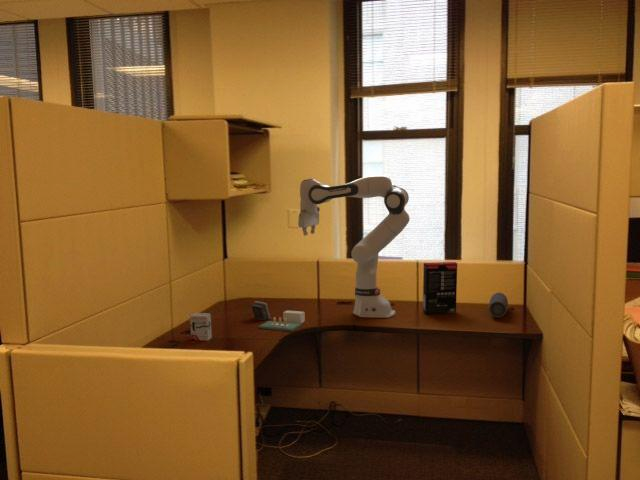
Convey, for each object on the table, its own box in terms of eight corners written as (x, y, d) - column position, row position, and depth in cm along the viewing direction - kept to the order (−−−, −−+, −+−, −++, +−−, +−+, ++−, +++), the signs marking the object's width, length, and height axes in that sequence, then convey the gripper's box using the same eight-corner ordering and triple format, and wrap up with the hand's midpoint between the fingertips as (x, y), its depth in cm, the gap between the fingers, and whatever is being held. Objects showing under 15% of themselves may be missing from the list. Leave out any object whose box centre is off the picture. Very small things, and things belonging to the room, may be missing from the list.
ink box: (190, 340, 265) (189, 315, 264) (194, 337, 270) (193, 312, 269) (208, 340, 264) (207, 315, 263) (212, 337, 269) (210, 313, 268)
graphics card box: (452, 310, 311) (453, 260, 308) (457, 313, 305) (457, 262, 302) (422, 312, 309) (422, 262, 306) (426, 315, 302) (426, 264, 299)
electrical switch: (271, 319, 301) (269, 302, 300) (263, 322, 298) (261, 305, 296) (259, 316, 308) (257, 299, 306) (251, 319, 304) (249, 302, 302)
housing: (304, 321, 295) (304, 311, 295) (301, 323, 291) (300, 313, 290) (287, 319, 299) (286, 310, 298) (283, 321, 295) (283, 312, 294)
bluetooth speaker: (507, 320, 288) (507, 301, 287) (488, 319, 291) (488, 300, 290) (508, 310, 309) (508, 291, 308) (490, 309, 312) (490, 291, 311)
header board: (300, 326, 286) (300, 316, 285) (292, 331, 277) (291, 321, 276) (268, 323, 293) (268, 314, 292) (259, 328, 284) (259, 319, 283)
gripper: (305, 210, 300) (306, 236, 301) (321, 207, 318) (321, 232, 320) (294, 210, 302) (295, 236, 304) (310, 207, 321) (311, 232, 322)
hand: (309, 234), depth 312 cm, fingers open, 8 cm apart
